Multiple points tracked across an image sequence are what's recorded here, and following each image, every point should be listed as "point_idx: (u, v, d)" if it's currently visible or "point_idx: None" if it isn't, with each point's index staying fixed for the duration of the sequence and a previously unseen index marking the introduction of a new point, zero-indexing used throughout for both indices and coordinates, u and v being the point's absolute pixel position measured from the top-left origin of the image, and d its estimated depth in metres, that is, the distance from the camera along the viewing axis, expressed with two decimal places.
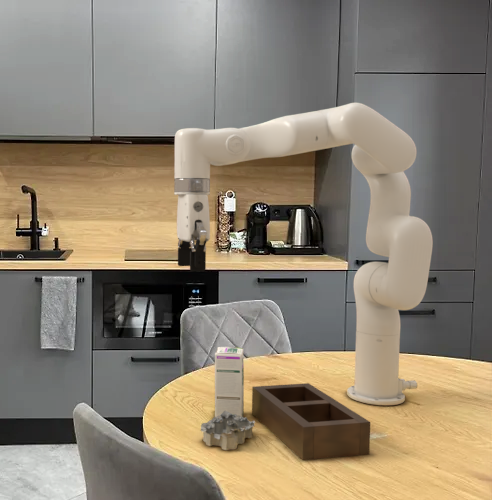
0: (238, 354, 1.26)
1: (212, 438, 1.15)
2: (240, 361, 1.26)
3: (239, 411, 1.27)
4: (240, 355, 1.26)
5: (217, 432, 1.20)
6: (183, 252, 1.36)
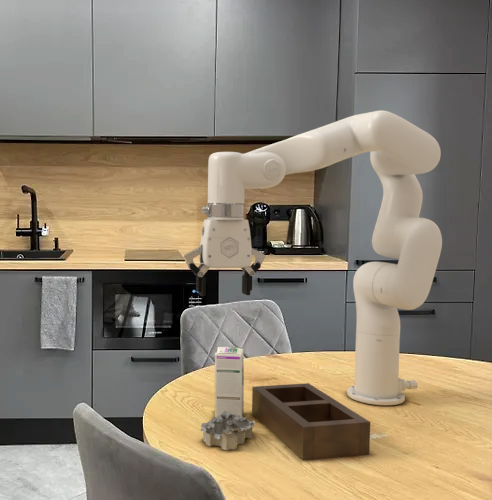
0: (238, 354, 1.26)
1: (212, 438, 1.15)
2: (240, 361, 1.26)
3: (239, 411, 1.27)
4: (240, 355, 1.26)
5: (217, 432, 1.20)
6: (243, 279, 1.30)
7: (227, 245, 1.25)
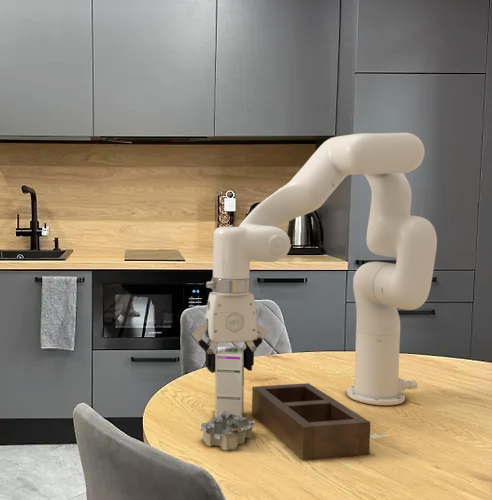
0: (238, 354, 1.26)
1: (212, 438, 1.15)
2: (240, 361, 1.26)
3: (239, 411, 1.27)
4: (240, 355, 1.26)
5: (217, 432, 1.20)
6: (245, 354, 1.30)
7: (232, 320, 1.26)
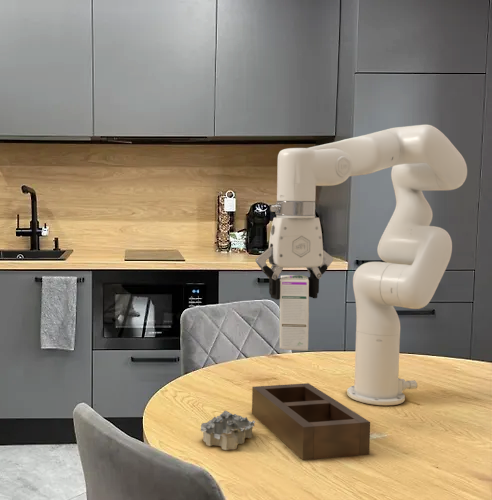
0: (305, 279, 1.22)
1: (212, 438, 1.15)
2: (307, 287, 1.22)
3: (305, 339, 1.23)
4: (307, 280, 1.22)
5: (217, 432, 1.20)
6: (309, 282, 1.26)
7: (299, 244, 1.22)
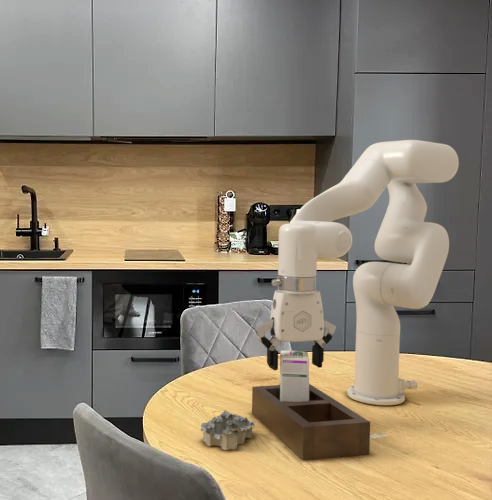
0: (305, 358, 1.23)
1: (212, 438, 1.15)
2: (307, 365, 1.23)
3: None
4: (307, 359, 1.23)
5: (217, 432, 1.20)
6: (314, 350, 1.28)
7: (300, 319, 1.23)
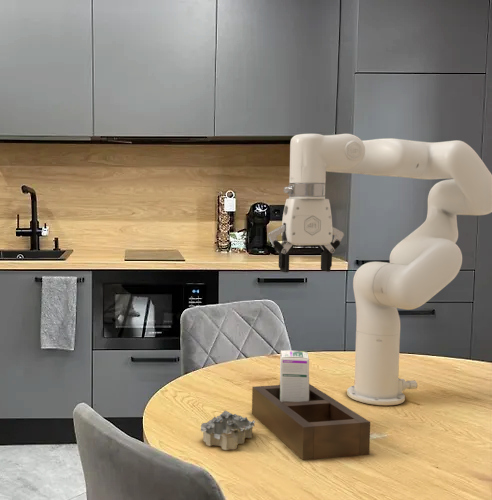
0: (305, 358, 1.23)
1: (212, 438, 1.15)
2: (307, 365, 1.23)
3: None
4: (307, 359, 1.23)
5: (217, 432, 1.20)
6: (323, 256, 1.35)
7: (310, 223, 1.31)
